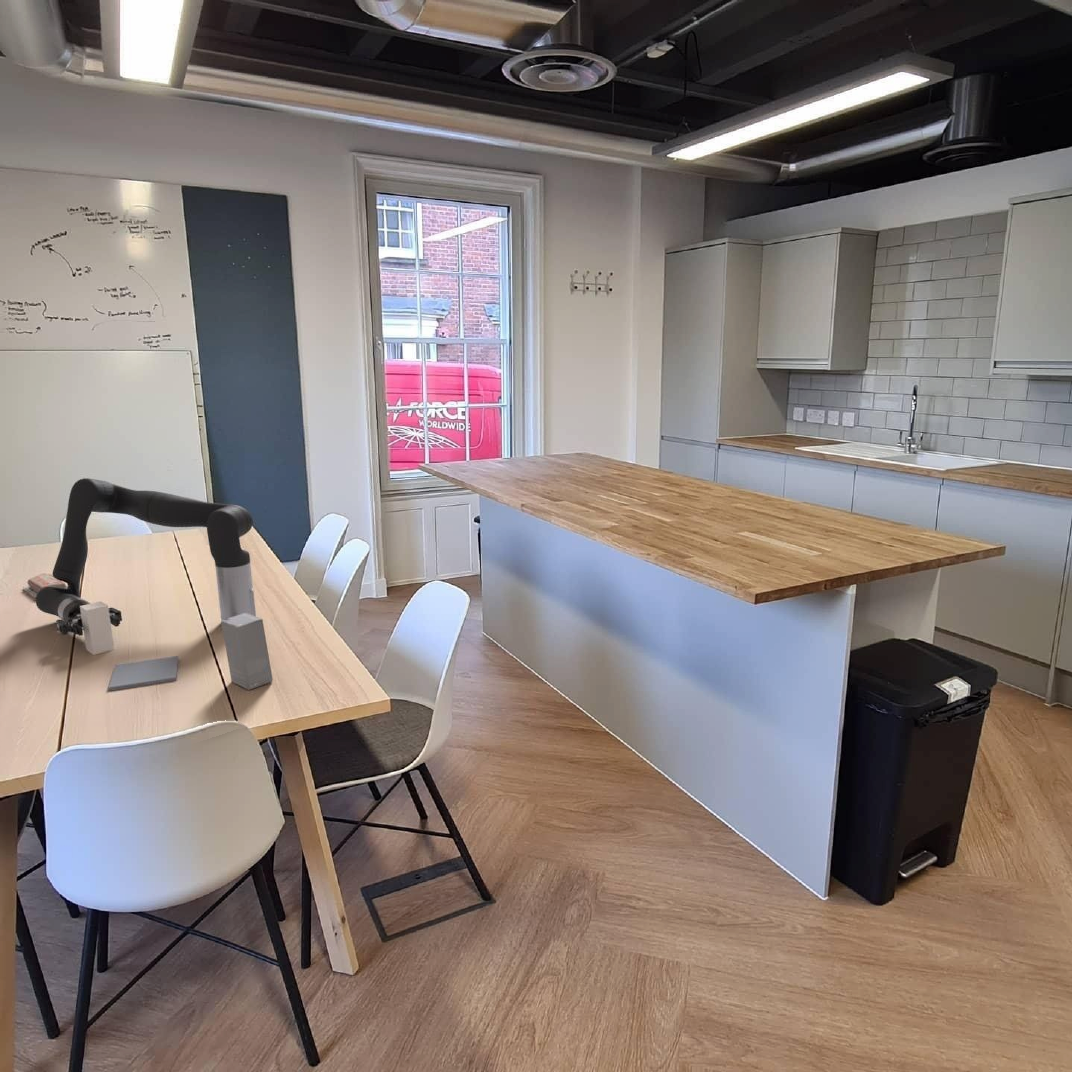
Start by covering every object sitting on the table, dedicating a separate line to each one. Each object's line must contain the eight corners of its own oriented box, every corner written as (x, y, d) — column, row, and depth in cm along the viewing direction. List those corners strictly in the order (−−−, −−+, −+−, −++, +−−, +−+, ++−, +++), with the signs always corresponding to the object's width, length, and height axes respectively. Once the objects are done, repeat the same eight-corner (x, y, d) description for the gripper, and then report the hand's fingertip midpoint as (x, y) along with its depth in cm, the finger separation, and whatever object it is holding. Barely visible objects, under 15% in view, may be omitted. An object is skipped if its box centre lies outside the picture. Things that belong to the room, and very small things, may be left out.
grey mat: (178, 658, 192) (178, 655, 191) (176, 680, 179) (175, 677, 179) (115, 667, 186) (115, 664, 186) (108, 690, 174) (108, 687, 174)
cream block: (107, 644, 202) (100, 601, 199) (114, 649, 198) (107, 605, 195) (86, 649, 198) (79, 606, 195) (93, 654, 195) (86, 610, 192)
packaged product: (72, 580, 243) (36, 587, 236) (74, 595, 244) (39, 602, 237) (55, 569, 255) (20, 576, 248) (57, 583, 256) (23, 590, 249)
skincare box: (273, 682, 178) (267, 618, 174) (244, 692, 173) (237, 626, 169) (255, 672, 183) (248, 610, 179) (226, 682, 178) (219, 618, 174)
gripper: (45, 606, 200) (66, 620, 189) (104, 593, 210) (126, 606, 199) (50, 633, 202) (70, 648, 191) (108, 619, 212) (130, 633, 201)
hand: (99, 627), depth 195 cm, fingers open, 8 cm apart
